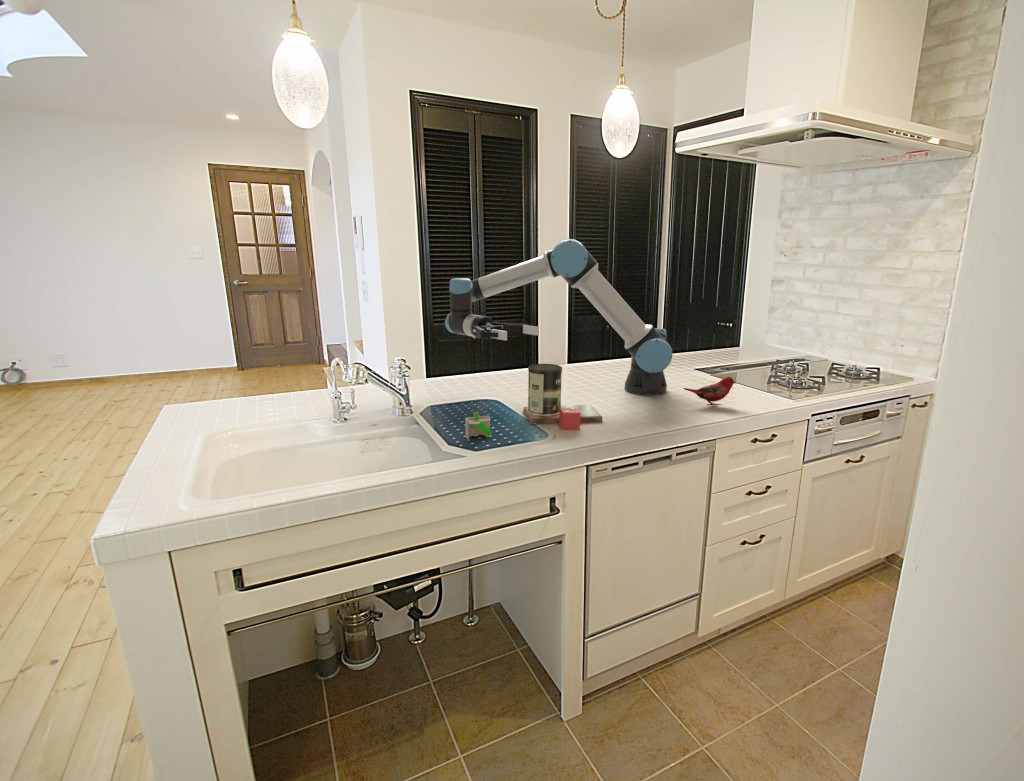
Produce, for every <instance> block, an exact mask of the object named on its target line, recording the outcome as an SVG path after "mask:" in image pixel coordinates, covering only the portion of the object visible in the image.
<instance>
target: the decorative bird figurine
mask: <svg viewBox="0 0 1024 781" xmlns="http://www.w3.org/2000/svg"><path fill="white" fill-rule="evenodd" d="M735 384H736V381H735V380H734V379H733V377H731V376H727V377H724V378H722V379H721V380H720V381H717V382H716V383H713V384H709V385H705V386H702V387H701V388H698V389H693V388H689V387H688V388H686V387H683V388H682V389H684V390H685V391H688V392H691V393H694V394H695V395H696V396H697V397H698V398H699V399H702V400H704V401H707V403H706V406H708V405H712V406H713V405H717V406H722V404H721V403H719V404H718V403H715V402H717V401H721V400H722V399H724V398H725V397H727V396H728V394H729V393H730V391H731V389H732V388H733V386H734V385H735ZM713 402H714V403H713Z"/></svg>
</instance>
